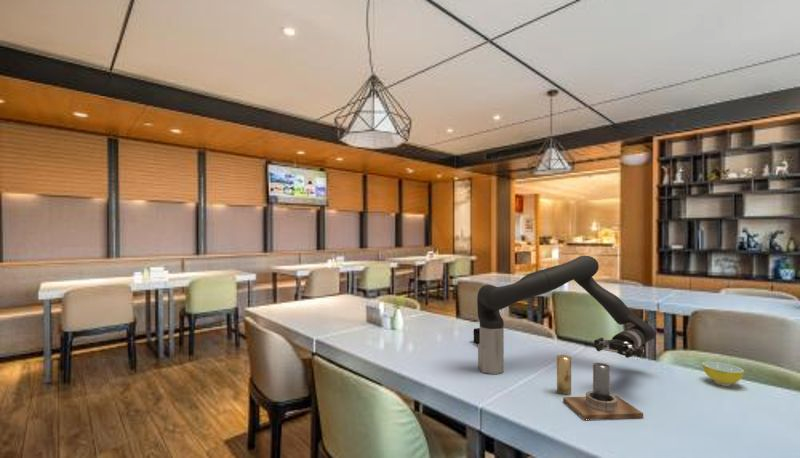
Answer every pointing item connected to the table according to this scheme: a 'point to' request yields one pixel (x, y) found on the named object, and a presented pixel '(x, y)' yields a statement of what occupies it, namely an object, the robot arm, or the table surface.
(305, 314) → the table surface
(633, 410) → the socket board
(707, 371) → the bowl
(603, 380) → the steel peg
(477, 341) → the digital camera
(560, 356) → the brass peg
